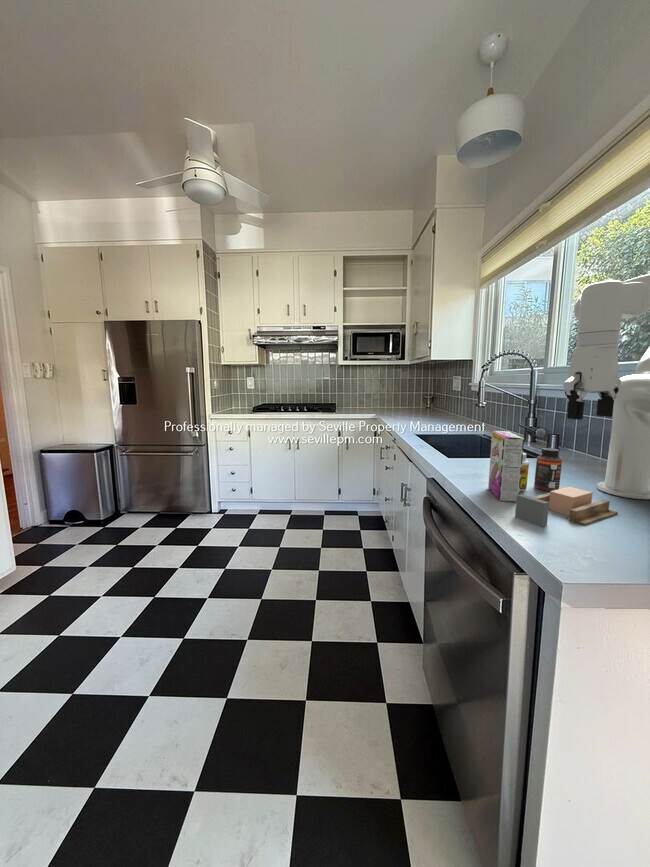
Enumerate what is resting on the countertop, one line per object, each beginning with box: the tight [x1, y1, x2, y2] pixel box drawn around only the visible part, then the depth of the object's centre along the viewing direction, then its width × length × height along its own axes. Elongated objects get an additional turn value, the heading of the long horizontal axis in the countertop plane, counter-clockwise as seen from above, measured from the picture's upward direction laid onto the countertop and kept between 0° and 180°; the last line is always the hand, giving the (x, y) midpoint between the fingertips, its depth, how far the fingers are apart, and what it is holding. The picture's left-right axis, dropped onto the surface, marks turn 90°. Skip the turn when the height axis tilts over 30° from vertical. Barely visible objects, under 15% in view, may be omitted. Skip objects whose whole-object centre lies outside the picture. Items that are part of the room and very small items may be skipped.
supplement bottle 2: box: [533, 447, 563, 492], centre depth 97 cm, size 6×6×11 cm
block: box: [549, 486, 594, 516], centre depth 81 cm, size 8×5×4 cm, turn 118°
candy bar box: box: [487, 430, 525, 503], centre depth 91 cm, size 11×5×16 cm, turn 169°
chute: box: [532, 492, 618, 526], centre depth 81 cm, size 14×13×2 cm
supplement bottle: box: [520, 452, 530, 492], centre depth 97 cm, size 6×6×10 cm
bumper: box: [514, 493, 550, 528], centre depth 74 cm, size 2×6×5 cm, turn 28°
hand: (589, 417), depth 80 cm, fingers open, 9 cm apart
